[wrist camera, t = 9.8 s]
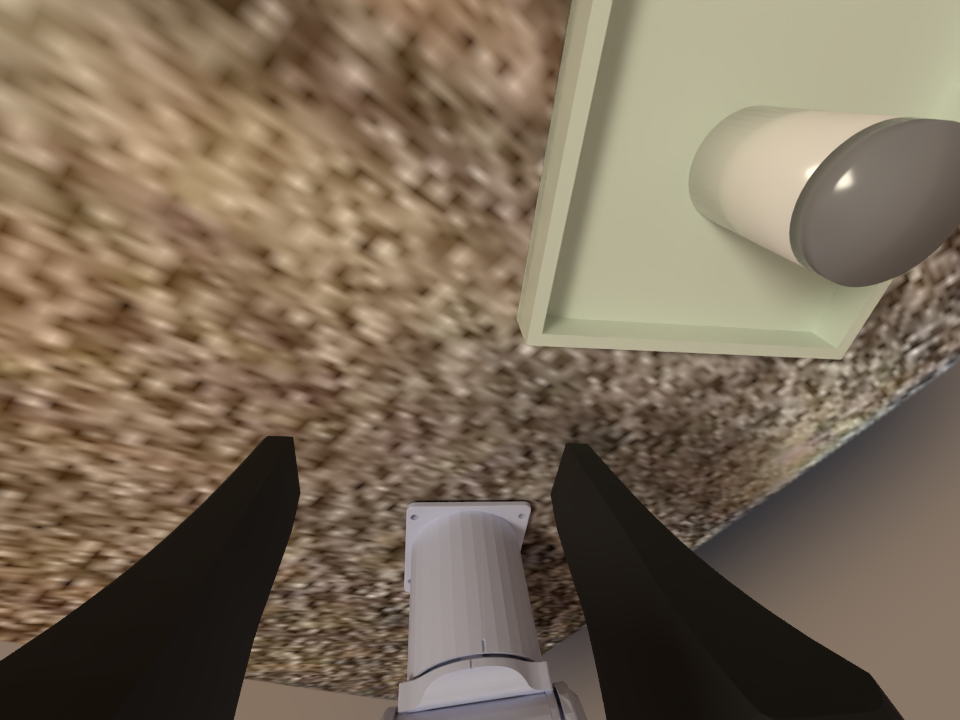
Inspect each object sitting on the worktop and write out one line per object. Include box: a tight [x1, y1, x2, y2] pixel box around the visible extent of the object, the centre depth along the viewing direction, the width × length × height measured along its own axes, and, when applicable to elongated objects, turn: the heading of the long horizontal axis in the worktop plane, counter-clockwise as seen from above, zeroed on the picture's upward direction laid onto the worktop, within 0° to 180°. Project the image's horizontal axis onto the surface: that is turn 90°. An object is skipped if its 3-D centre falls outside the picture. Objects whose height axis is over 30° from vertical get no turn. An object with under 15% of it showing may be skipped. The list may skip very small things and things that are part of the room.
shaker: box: [688, 105, 960, 287], centre depth 15 cm, size 4×4×7 cm
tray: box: [517, 0, 960, 359], centre depth 17 cm, size 16×16×2 cm
